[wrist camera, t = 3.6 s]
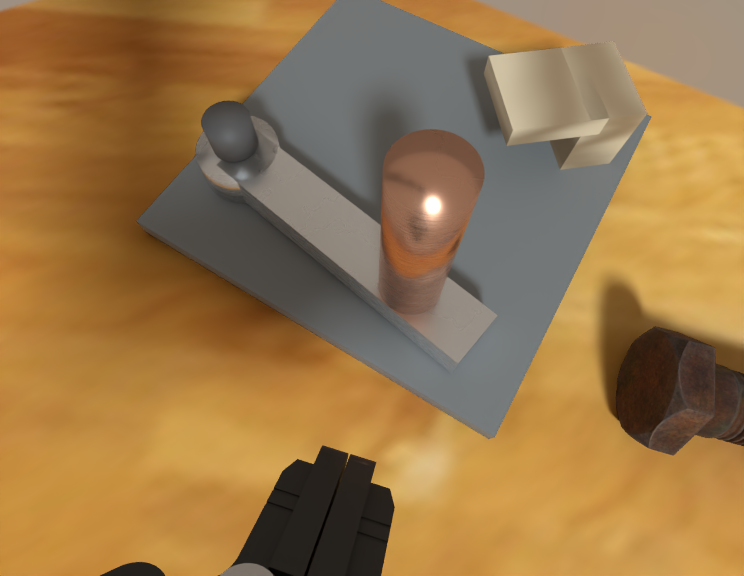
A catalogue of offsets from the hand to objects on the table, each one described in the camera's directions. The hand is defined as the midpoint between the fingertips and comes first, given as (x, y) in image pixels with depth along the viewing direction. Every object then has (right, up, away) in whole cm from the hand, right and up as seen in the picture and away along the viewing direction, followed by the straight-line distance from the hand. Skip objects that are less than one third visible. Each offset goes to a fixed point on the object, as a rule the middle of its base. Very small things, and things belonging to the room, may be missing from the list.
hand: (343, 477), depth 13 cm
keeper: (+11, +14, +16) cm, 24 cm away
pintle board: (+3, +12, +16) cm, 20 cm away
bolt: (+20, -2, +11) cm, 23 cm away
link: (-1, +8, +13) cm, 15 cm away
